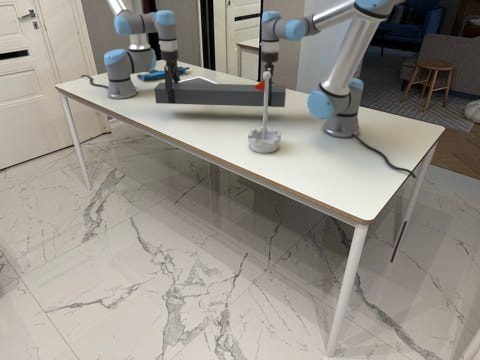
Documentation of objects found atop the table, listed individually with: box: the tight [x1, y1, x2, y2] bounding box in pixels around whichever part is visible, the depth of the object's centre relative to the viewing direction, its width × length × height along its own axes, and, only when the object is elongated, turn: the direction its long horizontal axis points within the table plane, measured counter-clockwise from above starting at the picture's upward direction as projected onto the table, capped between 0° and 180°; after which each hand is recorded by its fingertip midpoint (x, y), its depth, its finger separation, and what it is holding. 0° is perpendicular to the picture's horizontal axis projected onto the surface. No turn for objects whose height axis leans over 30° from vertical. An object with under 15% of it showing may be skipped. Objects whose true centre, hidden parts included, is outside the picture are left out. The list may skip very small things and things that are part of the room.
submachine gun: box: [136, 66, 190, 82], centre depth 223 cm, size 34×4×25 cm
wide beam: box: [153, 81, 287, 108], centre depth 158 cm, size 60×10×7 cm, turn 85°
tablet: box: [178, 75, 220, 84], centre depth 203 cm, size 32×20×1 cm, turn 41°
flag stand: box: [247, 71, 282, 154], centre depth 129 cm, size 13×13×30 cm
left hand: (174, 98), depth 161 cm, fingers closed on wide beam, 10 cm apart
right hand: (268, 101), depth 157 cm, fingers closed on wide beam, 10 cm apart
